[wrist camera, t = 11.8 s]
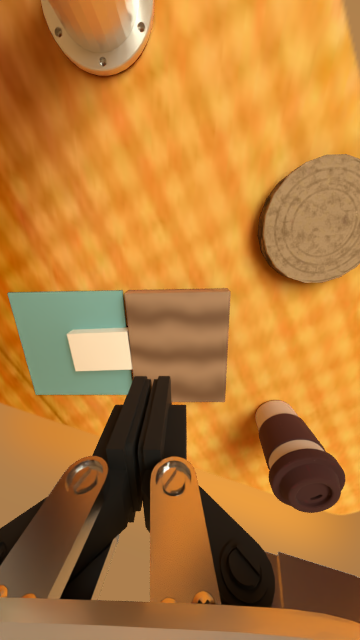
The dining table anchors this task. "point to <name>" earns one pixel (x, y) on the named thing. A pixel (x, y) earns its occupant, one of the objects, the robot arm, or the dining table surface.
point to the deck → (181, 340)
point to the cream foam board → (100, 349)
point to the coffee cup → (297, 460)
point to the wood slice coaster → (314, 220)
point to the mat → (52, 342)
